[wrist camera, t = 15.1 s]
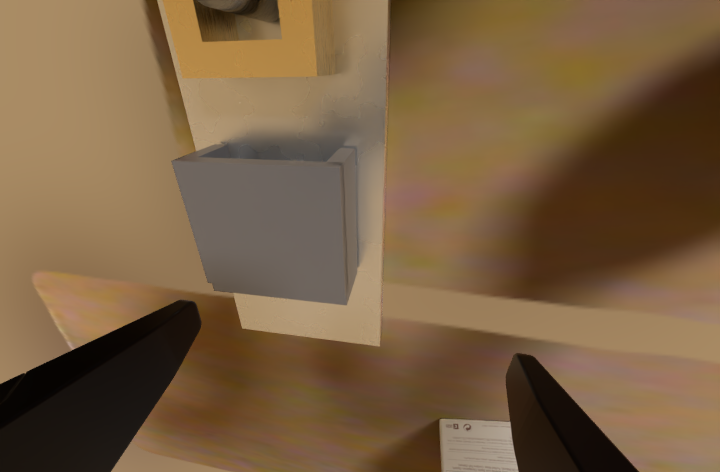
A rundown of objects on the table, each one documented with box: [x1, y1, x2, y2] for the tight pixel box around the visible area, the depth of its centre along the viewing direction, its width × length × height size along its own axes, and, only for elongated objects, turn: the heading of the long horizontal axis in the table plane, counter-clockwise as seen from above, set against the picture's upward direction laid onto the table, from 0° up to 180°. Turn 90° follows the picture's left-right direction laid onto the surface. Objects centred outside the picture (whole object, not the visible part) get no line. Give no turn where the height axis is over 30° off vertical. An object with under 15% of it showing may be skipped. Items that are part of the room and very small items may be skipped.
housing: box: [172, 144, 357, 305], centre depth 17 cm, size 8×8×4 cm
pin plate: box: [157, 0, 391, 346], centre depth 17 cm, size 11×26×6 cm, turn 1°
